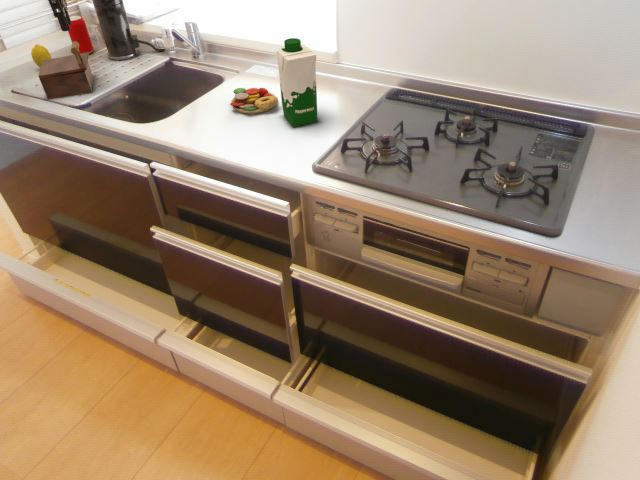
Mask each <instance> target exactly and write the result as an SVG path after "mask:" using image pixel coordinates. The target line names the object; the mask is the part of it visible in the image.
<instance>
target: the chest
mask: <svg viewBox="0 0 640 480" xmlns="http://www.w3.org/2000/svg"><path fill="white" fill-rule="evenodd" d="M39 81H40V84H41V86H42V88H43V91H44V93H45V96H46V98H47V100H50V99H57V98H63V97H64V98H65V97H71V96H76V95H84V94H90V93H92V92H93V84H94V83H93V81H94V74H93V72H92V69H91V66H90V63H89V62H88V66H87V70H84V71H79V72H73V73H68V74H62V75H56V76H51V77H45V78H39Z"/></svg>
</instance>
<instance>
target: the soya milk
mask: <svg viewBox="0 0 640 480" xmlns="http://www.w3.org/2000/svg"><path fill="white" fill-rule="evenodd" d="M283 46H284V47H283V48H279V49H276V56H277V65H278V74H279V77H278V78H279V89H280V97H281V106H282V113H283V118H285V120H286V121H287V122H288V123H289V125H290V126H291V127H292V128H297V127H301V126H306V125H309V124H313V123H318V122H319V121H318V120H319V119H318V117H319V116H318V96H317V95H318V94H317V93H318V91H317V70H316V68H317V54H316V53H315V52H314V51H313V50H312V49H311V48H309V47H308V46H307V45H305V44H302V42H301V39H300V38H295V37H292V38H291V37H290V38H287V39H285V40H284V41H283Z"/></svg>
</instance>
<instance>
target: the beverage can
mask: <svg viewBox="0 0 640 480" xmlns="http://www.w3.org/2000/svg"><path fill="white" fill-rule="evenodd" d="M69 17H70V20H71V25H69V27H70V30H69V31H67V33H68V35H69V38H70V41H71V43H72V42H73V41H77V42H78V43H79V52H80V54H82V53H88V54H89V55H90V54H91V53H92V52H93V51H94V45H93V42H92V40H91V36H90V34H89V30H88V27H87V25H86V24H87V23H86V20H85V19H83V18H82V16H80V15H72V16H69Z"/></svg>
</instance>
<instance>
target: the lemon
mask: <svg viewBox="0 0 640 480" xmlns="http://www.w3.org/2000/svg"><path fill="white" fill-rule="evenodd" d="M30 54H31V58H32V61H33V62H34V63H35V65H36V66H38V67H39V68H41V65H42V62H43V60H47V59H52V55H51V53H50V52H49V50H48V48H46V47H45V46H43V45H39V43H38V44H35V45H34V46H33V47H32V48H31V51H30Z"/></svg>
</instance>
